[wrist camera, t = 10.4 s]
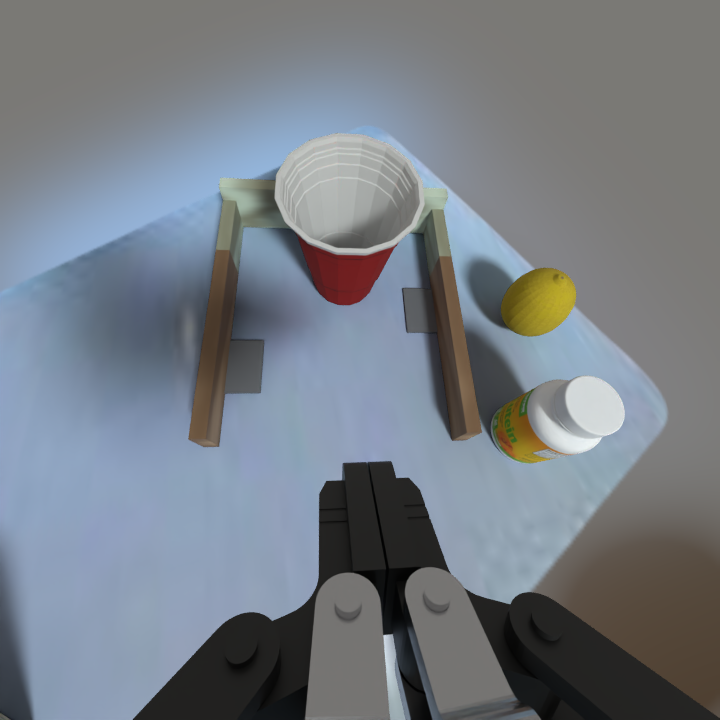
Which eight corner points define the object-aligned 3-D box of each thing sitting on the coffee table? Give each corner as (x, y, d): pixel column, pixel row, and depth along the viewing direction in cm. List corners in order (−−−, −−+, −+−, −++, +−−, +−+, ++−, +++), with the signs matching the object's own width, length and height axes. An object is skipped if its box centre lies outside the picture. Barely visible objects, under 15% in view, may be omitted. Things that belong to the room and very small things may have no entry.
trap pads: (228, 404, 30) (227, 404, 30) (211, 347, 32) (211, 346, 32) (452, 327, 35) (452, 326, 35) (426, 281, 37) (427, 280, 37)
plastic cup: (276, 319, 34) (253, 226, 23) (302, 233, 38) (293, 120, 27) (387, 340, 34) (418, 259, 23) (401, 252, 38) (432, 149, 27)
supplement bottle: (487, 400, 32) (549, 360, 23) (544, 407, 33) (626, 370, 24) (490, 460, 30) (560, 441, 21) (550, 467, 30) (644, 451, 22)
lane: (203, 446, 28) (180, 435, 24) (233, 217, 38) (220, 177, 33) (465, 440, 31) (490, 428, 26) (432, 225, 40) (446, 188, 35)
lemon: (514, 293, 37) (561, 240, 30) (551, 333, 36) (609, 288, 29) (476, 316, 36) (516, 267, 28) (513, 359, 34) (564, 318, 27)
